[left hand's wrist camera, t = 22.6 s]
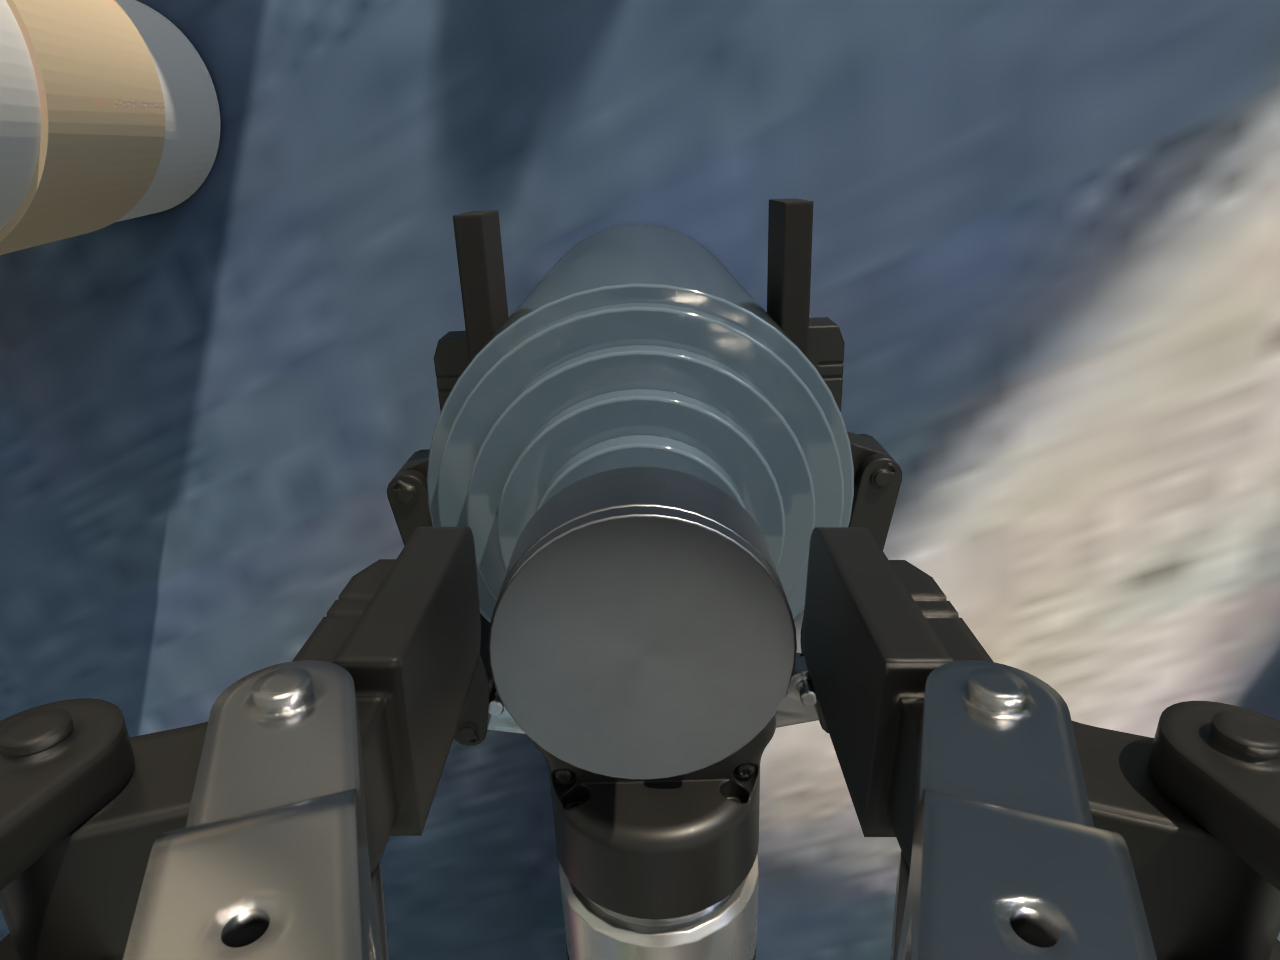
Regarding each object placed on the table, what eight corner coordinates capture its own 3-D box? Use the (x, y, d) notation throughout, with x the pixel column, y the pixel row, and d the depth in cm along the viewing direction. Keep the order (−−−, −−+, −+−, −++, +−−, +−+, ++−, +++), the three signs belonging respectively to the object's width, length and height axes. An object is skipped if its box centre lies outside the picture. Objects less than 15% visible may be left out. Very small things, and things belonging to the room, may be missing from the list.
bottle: (540, 440, 32) (386, 866, 12) (524, 227, 29) (291, 344, 9) (743, 434, 32) (913, 854, 12) (747, 221, 29) (976, 325, 9)
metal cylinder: (684, 412, 11) (693, 454, 9) (823, 624, 12) (852, 694, 10) (453, 555, 12) (423, 618, 10) (605, 741, 13) (600, 824, 11)
